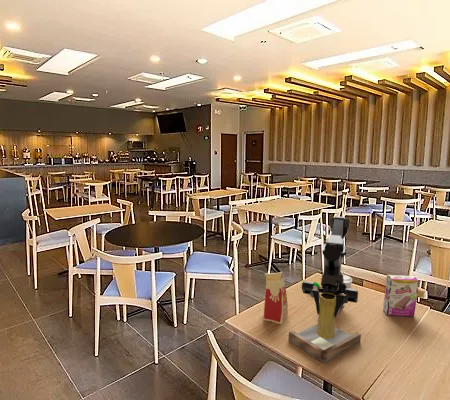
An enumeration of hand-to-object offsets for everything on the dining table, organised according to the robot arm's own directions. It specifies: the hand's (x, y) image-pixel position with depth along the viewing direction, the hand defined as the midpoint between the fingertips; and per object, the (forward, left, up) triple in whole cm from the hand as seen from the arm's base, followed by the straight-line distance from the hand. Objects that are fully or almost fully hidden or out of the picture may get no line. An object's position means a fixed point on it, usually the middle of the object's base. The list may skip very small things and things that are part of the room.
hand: (326, 315), depth 113 cm
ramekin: (-29, +47, -14) cm, 57 cm away
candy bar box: (+1, +46, -13) cm, 48 cm away
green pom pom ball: (-33, +33, -13) cm, 49 cm away
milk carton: (-27, +1, -13) cm, 30 cm away
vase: (-1, +1, -8) cm, 8 cm away
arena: (-4, +4, -13) cm, 15 cm away
